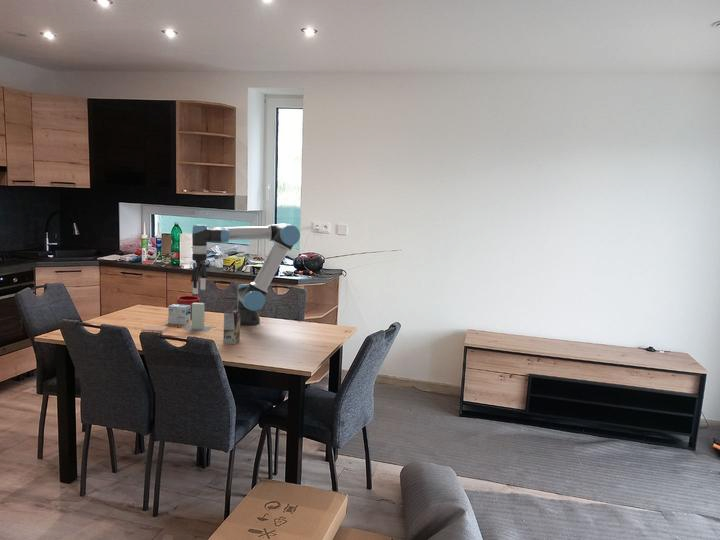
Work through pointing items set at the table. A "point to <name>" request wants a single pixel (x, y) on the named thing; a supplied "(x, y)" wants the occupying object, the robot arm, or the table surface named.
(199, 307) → the pusher tool
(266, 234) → the robot arm
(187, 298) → the plant pot
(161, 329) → the tile
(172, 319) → the light bulb box
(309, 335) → the table surface
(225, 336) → the coffee box
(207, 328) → the tool mat
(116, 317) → the table surface
